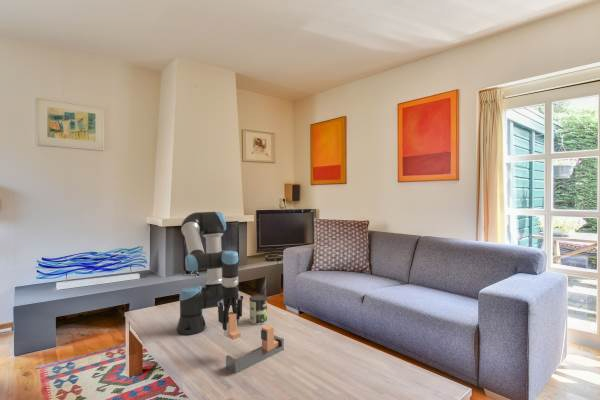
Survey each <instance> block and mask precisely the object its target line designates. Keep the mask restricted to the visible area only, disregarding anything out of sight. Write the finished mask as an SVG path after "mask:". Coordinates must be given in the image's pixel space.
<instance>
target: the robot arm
mask: <svg viewBox="0 0 600 400" xmlns="http://www.w3.org/2000/svg"><path fill="white" fill-rule="evenodd" d="M180 229H181V234H182V236H184V240H185V245H186V249H187V255H186V256H185V259H184V261H185V262H184V263H185V264H184V265H185V269H186V271H187V272H197V271H205V270H206V272H207V273H206V274H207V281H206V282H205V284H204V287H203V286H202V285H201V284H193V285H188V286H186V287H184V288H182V289H180V292H179V319H178V322H177V325H176V333H177V334H178V335H183V336H188V335H189V336H190V335H197V334H199V333H201V332H203V331H205V330H206V328H207V327H206V326H207V324H206V320H205V318H204V316H203V310H206V309H211V308H217V312H218V313H217V315H218V319H217V320H218V322H219V323H221V324H222V330H223V336H225V337H226V338H229V323H228V322H227V320H228V313H229V312H230V309H232V311H231V312H233V313H235V314H236V318H237V326H239V320H240V317H242V316H243V300H244V295H241V294H239V253H238V251H235V250H223V249H222V236H224V232H226V230H227V222H226V217H225V215H224V213H223V212H221V211H200V212H192V213H191V214H189V215H187V216H186V217H185V218H184V219H183V220H182V223H181V227H180ZM200 233H202V237H204V238H205V247H206V250H204V247H203V246H204V245H203V243H202V238H201V234H200ZM205 251H206V253H205Z"/></svg>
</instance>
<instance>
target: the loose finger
mask: <svg viewBox="0 0 600 400" xmlns="http://www.w3.org/2000/svg"><path fill="white" fill-rule="evenodd" d="M227 322H228V323H229V337H228V338H229V339H231V340H233V341H234V340H237V339H239V338H241V337H242V336H241V332H239V331H238V325H237V318H236V314H235V313H233V311H229V313H228V320H227Z"/></svg>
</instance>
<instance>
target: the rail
mask: <svg viewBox="0 0 600 400" xmlns="http://www.w3.org/2000/svg"><path fill="white" fill-rule="evenodd" d="M274 340H276V341H278V342H279V346H277V347H275V348H273V349H271V350H269V351H266V350H264V349H262V345H261V346H258V347H256V348H255V349H254V348H253V350H251V351H248V352H246V353H244V354H241V355H240V356H237V357H235V358H234V357H232V356H231V355H229V354H227V355H225V368H226V369H227V370H230V371H231V372H232V373H234V374H237V373H240V372H241V371H243V370H246V369H248V368H249V367H251V366H254V365H256V364H257V363H259V362H262V361H264V360H265V359H267V358H270V357H272V356H274V355H276V354H278V353H279V352H282V351H285V350H284V348H285V342H284V340H285V339H284V338H281V337H279V336H277V335H275V334H274Z"/></svg>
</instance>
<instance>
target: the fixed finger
mask: <svg viewBox="0 0 600 400" xmlns="http://www.w3.org/2000/svg"><path fill="white" fill-rule="evenodd" d="M274 329H275V327H274V326H272V325H270V324H269V325H268V324H267V325H264V326H262V327H261V330H260V339H261V346H262V349H264V350H266V351H269V350H271V349H273V348H275V347H277V346H279V342H278V341H276V340H274V335H275V333H274V332H275V331H274Z"/></svg>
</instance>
